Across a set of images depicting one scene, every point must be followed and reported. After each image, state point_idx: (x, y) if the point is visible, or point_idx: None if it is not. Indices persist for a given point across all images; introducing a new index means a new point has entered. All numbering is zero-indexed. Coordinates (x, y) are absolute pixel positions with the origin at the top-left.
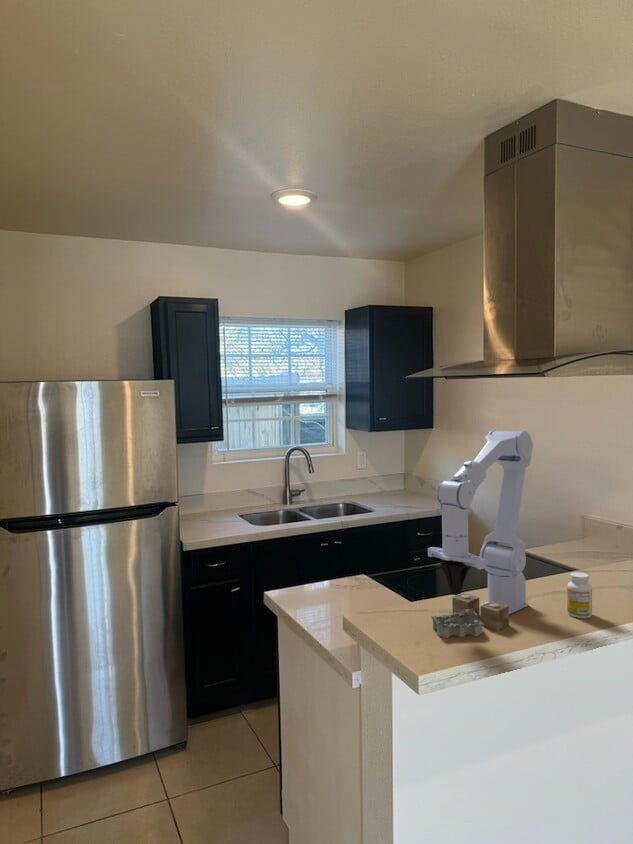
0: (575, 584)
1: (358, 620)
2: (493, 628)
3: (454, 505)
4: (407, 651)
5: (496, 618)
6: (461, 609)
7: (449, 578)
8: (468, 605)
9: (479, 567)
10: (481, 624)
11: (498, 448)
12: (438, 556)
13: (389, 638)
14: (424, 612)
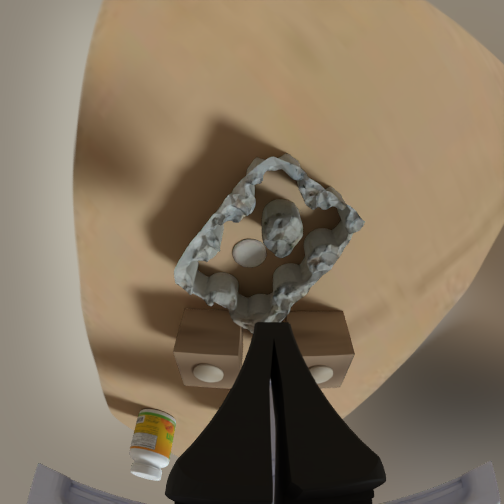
0: (143, 460)
1: None
2: (197, 310)
3: None
4: None
5: (181, 333)
6: (314, 331)
7: (291, 397)
8: None
9: (36, 474)
10: (183, 281)
11: None
12: (423, 499)
13: (398, 23)
14: (417, 274)
